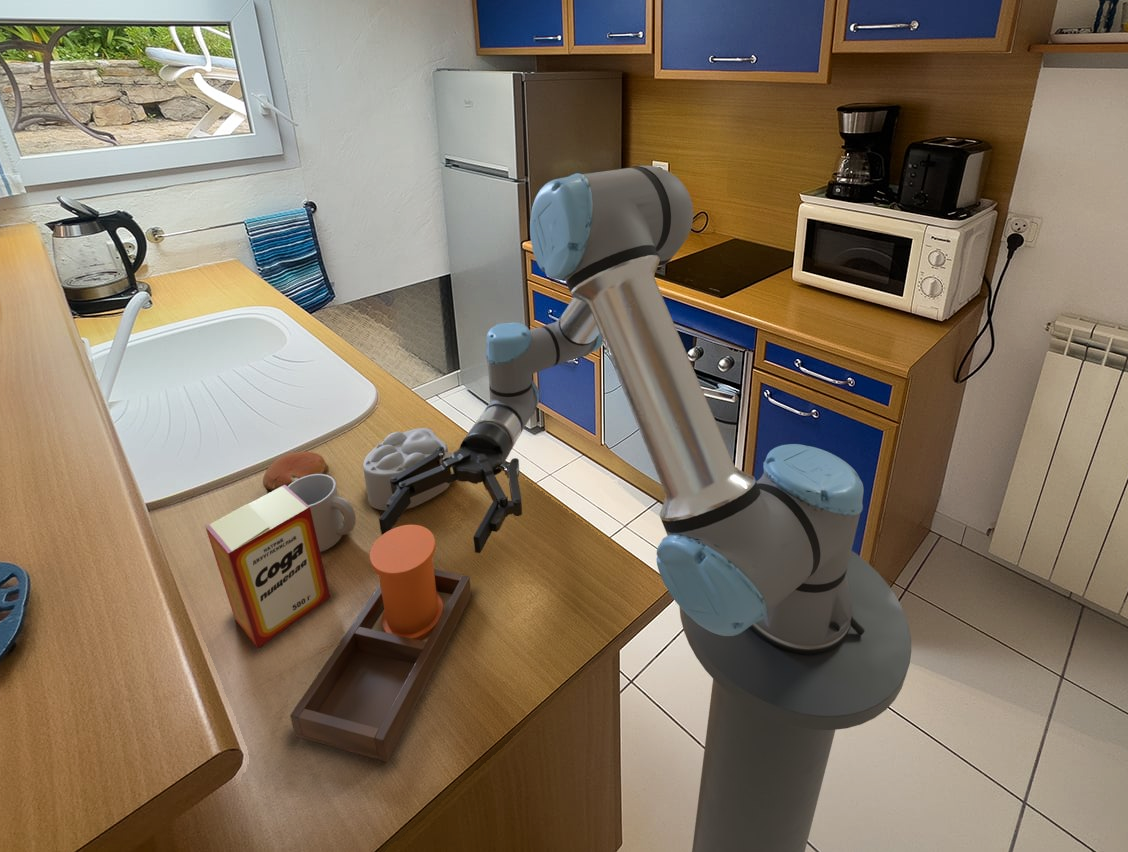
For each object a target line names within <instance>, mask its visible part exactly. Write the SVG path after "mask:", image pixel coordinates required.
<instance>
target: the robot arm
mask: <svg viewBox="0 0 1128 852" xmlns="http://www.w3.org/2000/svg"><path fill="white" fill-rule="evenodd" d="M693 221H694V206H693V201H692V199H691V195H690V192H689V191H688V189H687V187H686V186H685V185H684V183H683V182H682V181H681V180H680V179H679V178H678V177H677V176H676V175H675V174H673V173H672V172H671V171H668V170H666V169H664V168H662V167H658V166H654V165H636V166H631V167H625V168H618V169H611V170H604V171H597V172H596V171H595V172H589V173H579V172H577V173H574V174H570V175H569V176H565V177H560V178H555V179H552V180H550V181H548V182H547V183H544V185H543V186H542V187H541V188H540V189H539V191H538V193H537V194H536V196H535V198H534V200H533V204H532V207H531V213H530V221H529V235H530V242H531V248H532V252H533V256H534V259H535V261H536V263H537V265H538V267H539V269H540V270H541V272H543V273H545V276H546V277H548V278H550V279H553V280H558V281H563V280H564V281H565V283H566V285H567V288H568V291H569V293H570V295H571V297H572V299H571V301H570V302H569V304H568V305H567V307H565V309H564V311H563V313H562V314H561V315H560V316H559V318H558V319H557V321H555V322H551V323H548V324H545V325H542V326H538V327H534V328H532V329H529V327H528V326H527V325H525V324H523V323H520V322H515V321H512V322H511V321H510V322H509V323H508V322H501V323H498V324H496V325H494V326H493V327H491V328H490V329H489V330H488V332H487V333H486V340H485V357H486V359H485V360H486V363H487V373H488V374H487V375H488V383H489V384H488V385H489V387H488V388H489V389H488V391H489V392H488V393H489V402H488V405H487V406H486V408H485V409H484V410H483V412H482V413H481V414H480V416H479V417H478V418H477V420H476V421H475V423H474V424H473V425H472V427H471V428H470V430H468V432H467V434H466V435H465V437H464V438H463V440H462V441H461V444H460V445H459V447H458V449H457V450H455V451H453V452H449V451H448V452H445V451H444V447H438V448H437V449H436V450H435V451H434V452H433V453H432V454H431V455H429V456H427V457H426V458H424V459H422V460H420V461H419V462H417V463H415V464H414V465H412V466H410V467H409V468H407V469H405V470H403V471H402V472H400V473H398V474H397V475H395V476H393V477H392V478H390V484H391V490H392V494H393V495H392V496H391V498H390V499H389V500H388V501H387V509H386V511H385V510H384V512H383V513H382V515H381V516H380V517H379V519H378V524H379V528H380V536H382V535H383V534H384V533H386V532H387V531H389V530H391V529H393V528H394V526H395V525H396V523H397V522H398V521H399V520H400V518H401V516H402V515H403V514H404V513H405V511H406V510H407V509H406V508H407V507H408V506H409V504H410V503H411V500H410V498H411V497H413V496H415V495H418V494H420V493H422V492H425V491H427V490H429V489H432V488H434V487H436V486H439V485H441V484H443V483H448V484H449V483H450V484H451V483H454V482H456V481H457V482H462V483H463V482H464V483H465V482H467V483H470V484H474V485H478V484H479V483H482V484H483V486H484V488H485V490H486V491H487V492H488V494H489V496H490V498H491V500H492V503H491V504H490V506H489V508H488V509H487V512H486V514H485V515H484V517H483V519H482V520H481V522H480V524H479V526H478V529H477V530H476V531H475V533H474V535H473V547H474V553H476V554H481V553H482V551H483V550H484V547H485V546H486V544H487V542H488V540H489V538H490V536H491V534H492V532H495V533H498V532H499V531H500V530H501V527H502V526H503V524H504V521H505V520H506V518H507V517H508V516H509V515H513V516H514V517H521V516H522V515H523V501H522V495H521V488H520V483H519V476H520V459H519V458H518V457H517V458H516V457H515V458H511V460H510V461H506V460H507V459H508V457H509V455H510V453H511V451H512V450H513V448H514V447H515V445H516V443H517V441H518V439H519V438H520V436H521V434H522V432H523V430H524V429H525V427H526V426H527V424H528V423H529V421H530V419H531V418H532V417H533V416H534V414H535V412H536V410H537V407H538V404H539V401H540V397H541V396H540V395H541V394H540V389H539V387H538V386H537V385H536V383H535V382H534V381H533V375H534V374H536V373H539V372H542V371H544V370H547V369H550V368H553V367H555V366H558V365H561V364H564V363H567V362H570V361H574V360H576V359H579V358H583V357H587V356H588V355H590V354H591V353H594V352H597V351H598V350H599V349H601V347H602V346H603V344H604V346H605V349H606V351H607V354H608V356H609V359H610V361H611V363H612V366H613V368H614V372H615V374H616V376H617V378H618V381H619V383H620V386H621V389H622V390H623V394H624V396H625V399H626V401H627V402H628V406H629V408H630V411H631V413H632V415H633V418H634V421H635V423H636V426H637V427H638V428H637V429H638V431H639V433H640V435H641V437H642V440H643V442H644V445H645V447H646V450H647V453H648V456H649V458H650V460H651V463H652V465H653V467H654V470H655V472H656V475H657V477H658V479H659V482H660V484H661V487H662V489H663V492H664V496H665V497H664V500H663V503H662V504H663V505H662V506H661V509H660V512H659V518H660V520H661V523H662V525H663V528H664V530H665V532H666V536H665V537H663V538H662V539H661V542H660V543H658V546H657V547H656V567H657V569H658V573H659V575H660V578H661V580H662V582H663V584H664V586H665V588H666V590H667V591H668V592H669V594H670V597H672V598H673V600H674V602H675V603H676V605H678V607H679V606H680V607H681V609H682V610H683V611H684V612H685V613H686V614H687V615H688V616H690V617H691V618H692V619H693V620H694V621H695V622H696V623H697V624H699V625H700V626H702V627H703V628H705V629H707V630H708V631H710V632H712V633H715V634H718V635H722V636H734V635H738V634H740V633H742V632H743V631H744V630H746V629H747V628H748V627H749V628H750V629H751V630H752V631H753V632H754V633H755V634H756V635H757V636H758V637H760V638H761V639H762V640H764V641H765V642H767V643H768V644H770V645H772V646H774V647H776V648H778V649H781V650H783V651H786V652H790V653H794V654H799V655H818V654H823V653H826V652H829V651H831V650H833V649H835V648H836V647H838V646H839V645H840V644H841V643H842V642H843V641H844V640H845V638H846V637H847V635H848V632H849V629H850V626H851V627H852V628H853V629H854V630H855V631H856V632H857V633H858V634H859V635H862V634H863V633H864V629H863V628H862V627H861V626H860V625H859V624H858V623H857V622H856V621H855V619H854V618H853V617H852V616H853V608H852V600H851V595H850V590H849V585H848V580H847V576H846V571H847V567H848V563H849V559H850V555H851V550H852V551H853V546H854V541H855V538H856V533H857V530H858V524H859V521H860V516H861V513H862V512H863V509H864V505H863V498H864V490H865V489H864V483H863V481H862V480H861V478H860V476H859V474H858V472H857V471H856V470H855V469H854V468H853V467H852V466H851V465H850V464H849V463H848V462H846V461H845V460H843V459H842V458H841V457H839V456H837V455H835V454H833V453H831V452H830V451H826V450H824V449H821V448H818V447H816V446H810V445H804V444H799V443H789V444H781V445H778V446H776V447H774V448H773V449H771V450H769V452H768V453H767V455H766V457H765V460H764V461H763V465H762V466H763V467H762V468H763V473H762V476H761V477H760V478H759V479H758V480H756V478H755V476H754V475H752V474H750V473H748V472H745V471H743V470H740V469H739V468H738V467H736V465H735V463H734V461H733V458H732V456H731V454H730V451H729V449H728V447H727V444H726V442H725V440H724V439H725V438H724V437H723V435H722V432H721V430H720V428H719V425H718V423H717V421H716V419H715V416H714V414H713V411H712V409H711V407H710V405H709V402H708V399H707V397H706V395H705V393H704V391H703V388H702V385H701V384H700V381H699V379H698V376H697V374H696V372H695V370H694V367H693V364H692V362H691V360H690V358H689V355H688V352H687V351H686V348H685V347H684V343H683V341H682V339H681V337H680V334H679V332H678V329H677V327H676V324H675V322H674V320H673V318H672V316H671V313H670V311H669V309H668V306H667V304H666V302H665V299H664V297H663V295H662V291H661V290H660V287H659V286H658V283H657V280H656V279H655V275H656V272H657V269H658V268H660V267H663V266H666V265H667V264H668V263H669V262H670V261H671V260H672V259H673V258H674V256H675V255H676V254H677V253H678V252H679V251H680V249H681V248H682V247H683V245H684V244H685V242H686V240H687V239H688V237H689V236H690V233H691V230H692V227H693ZM451 469H452V473H451ZM502 472H504V475H505V476H506V478H507V479H508V487H509V493H510V499H509V498H508V496H507V495H506V494H505V492H504V490H503V489H502V487H501V484H500V483H499V481H498V479H497V477H496V476H497V475H500V473H502ZM508 499H509V500H508Z"/></svg>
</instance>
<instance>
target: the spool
mask: <svg viewBox="0 0 1128 852" xmlns="http://www.w3.org/2000/svg"><path fill="white" fill-rule="evenodd" d="M436 549H437V544H436V538H435V536H434V533H432V531H431V530H430V529H429V528H427V527H425V526H423V525H420V524H404V525H400V526H397V527H393V528H392V529H391V530H389V531H387V532H386V533H384V534H383V535H380V536H379V537H378V538H377V539H376V540H375V541H374V543H373V544H372V546H371V548H370V550H369V551H370V552H369V562H370V566H371V569H372V571H373V572H374V573H375V574H376V575H377V576H378V580H379V585H380V586H381V592H382V597H383V603H384V608H385V610H384V612H383V616H382V626H383V631H384V632H385V633H390V634H394V635H398V636H403V637H407V638H411V639H416V640H420V641H422V640H424V639H426V638H427V637H429V636H430V635H431V633H432V631H433V629H434V628H435V626H436V624H437V622H438V620H439V618H440V617H441V615H442V613H443V611H444V607H443V601H442V599H441V597H440V595H439V594H438V593H437V591H436V583H435V576H434V569H435V568H434V562H433V558H434V556H435V554H436Z"/></svg>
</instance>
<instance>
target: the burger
mask: <svg viewBox="0 0 1128 852" xmlns="http://www.w3.org/2000/svg"><path fill="white" fill-rule="evenodd" d="M329 472H330V466H329V464H328V463H327V462H326V461H325V458H324V457H323V456H322V455H321V454H319V453H317V452H313V451H295V452H290V453H287V454H284V455H282V456H280V457H278V458H277V459H275V460H274V461H273V462H272V463H271V464H270V466H268V468H267V470H266V471H265V473H264V475H263V478H262V485H263V488H264V489H265V490H266V494H268V493H270V492H272V491H274V490H276V489H277V488H279V487H281V486H283V485H286V486H289V485H290V484H291V483H292V482H294V481H296V480H298V479H300V478H302V477H305V476H308V475H313V474H325V475H329Z"/></svg>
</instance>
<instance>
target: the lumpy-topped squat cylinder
mask: <svg viewBox="0 0 1128 852" xmlns="http://www.w3.org/2000/svg"><path fill="white" fill-rule="evenodd" d="M438 447H444V451H445V452H448V453H449V449H448V445H447V443H446V442H445V441H444V440H442V439H441V438H439V437H437V434H436V433H435V431H433V430H432V429H431V428H427V427H418V428H417V427H416V428H413V429H410V430H406V431H404V432H402V431H395V432H391V433H390V434H388V435H387V436H386V437H385V438H384V440H383V441H382V442H379V443H378V444H377V445H376V446H375V447H374V448H372V450H370V452H369V453H368V454H367V455H366V456H365V458H364V460H363V463H362V470H363V475H364V482H365V488H366V495H367V499H368V504H369V505H370V506H371V507H372V508H373V509H376V510H380V511H384V512H385V511H386V509H387V501H388V500H389V499H390V498H391V496H392V495H393V494H392V490H391V484H390V478H392V477H393V476H395V475H397V474H398V473H400V472H402V471H403V470H405V469H407V468H409V467H410V466H412V465H414V464H415V463H417V462H419V461H420V460H422V459H424V458H426V457H427V456H429V455H431V454H432V453H433V452H434V451H435V450H436V449H437V448H438ZM450 485H451V483H449V484H448V483H443V484H441V485H439V486H436V487H434V488H432V489H429V490H427V491H425V492H422V493H420V494H418V495H415V496H413V497H411V498H410V500H411V503H410V504H409V506H408V507H407V508H406V510H408V509H411V508H414V507H417V506H419V505H421V504H424V503H425V502H428V501H431V499H433V498H435V497H437V496H438V495H440V494H442V493H443V492H444V491H446V490H447V489H448V488H449V487H450Z"/></svg>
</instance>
